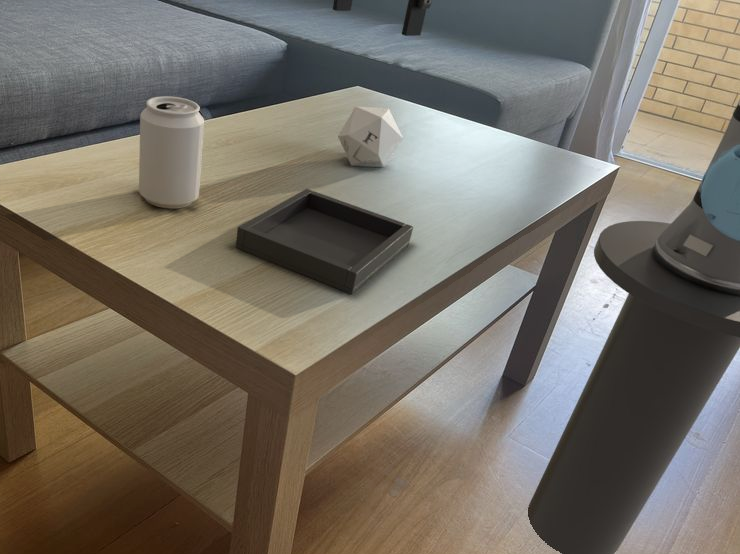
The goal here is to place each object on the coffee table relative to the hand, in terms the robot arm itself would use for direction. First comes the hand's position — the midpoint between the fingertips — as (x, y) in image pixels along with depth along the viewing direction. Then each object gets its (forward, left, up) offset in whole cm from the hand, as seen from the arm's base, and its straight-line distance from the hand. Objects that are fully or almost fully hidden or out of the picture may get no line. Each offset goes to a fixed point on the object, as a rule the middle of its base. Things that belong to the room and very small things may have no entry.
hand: (374, 22), depth 96 cm
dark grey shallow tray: (-10, +25, -20) cm, 34 cm away
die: (-1, -5, -21) cm, 21 cm away
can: (+11, +28, -21) cm, 37 cm away
